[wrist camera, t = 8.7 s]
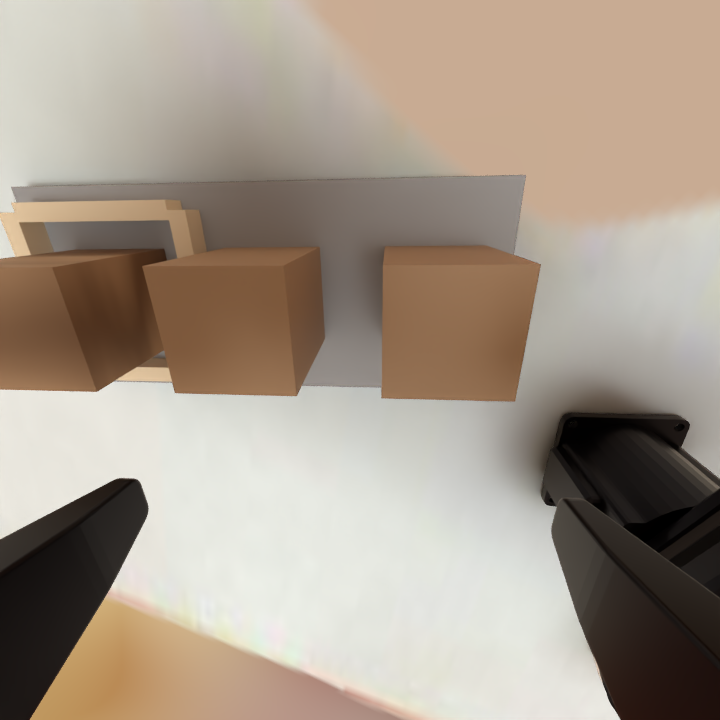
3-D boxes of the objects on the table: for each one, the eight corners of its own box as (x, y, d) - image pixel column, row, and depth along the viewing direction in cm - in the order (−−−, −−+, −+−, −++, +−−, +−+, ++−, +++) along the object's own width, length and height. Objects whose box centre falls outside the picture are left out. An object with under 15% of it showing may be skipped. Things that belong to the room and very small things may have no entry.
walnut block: (76, 249, 17) (-75, 268, 11) (164, 248, 16) (51, 267, 11) (104, 336, 19) (-14, 389, 13) (184, 337, 18) (97, 391, 13)
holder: (517, 177, 15) (613, 151, 9) (487, 381, 19) (537, 467, 13) (31, 188, 17) (-189, 173, 10) (96, 373, 21) (-34, 445, 14)
